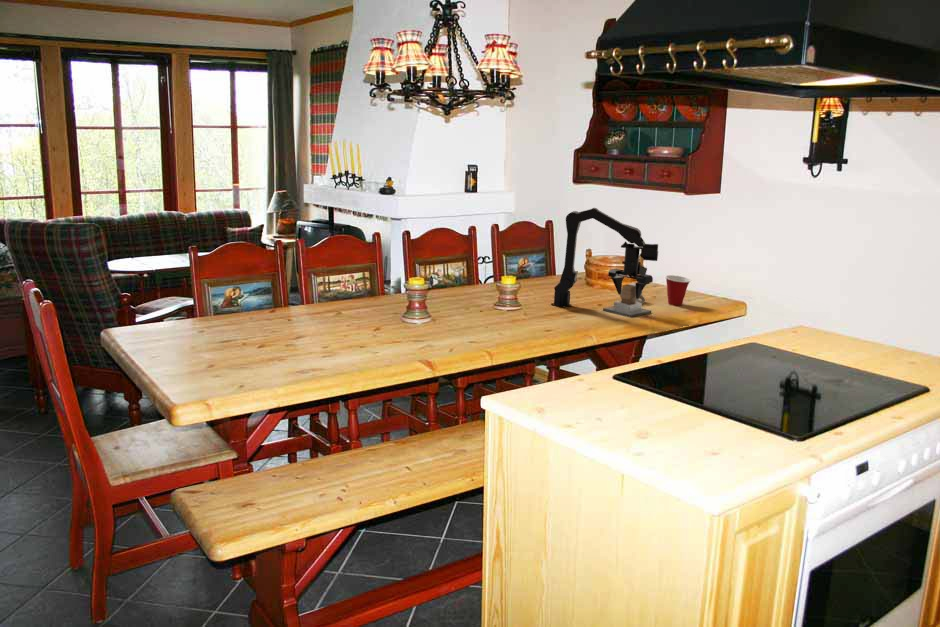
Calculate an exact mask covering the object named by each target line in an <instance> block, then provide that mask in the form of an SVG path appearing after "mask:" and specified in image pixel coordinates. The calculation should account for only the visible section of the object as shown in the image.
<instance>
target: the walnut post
mask: <svg viewBox="0 0 940 627" xmlns="http://www.w3.org/2000/svg"><path fill="white" fill-rule="evenodd" d="M635 298H636V286H633V285H629V284H624V285H623V284H622V299H621V298H620V299H621V300H620V301H621V303H624V304H629V305H630V304H635Z"/></svg>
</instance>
